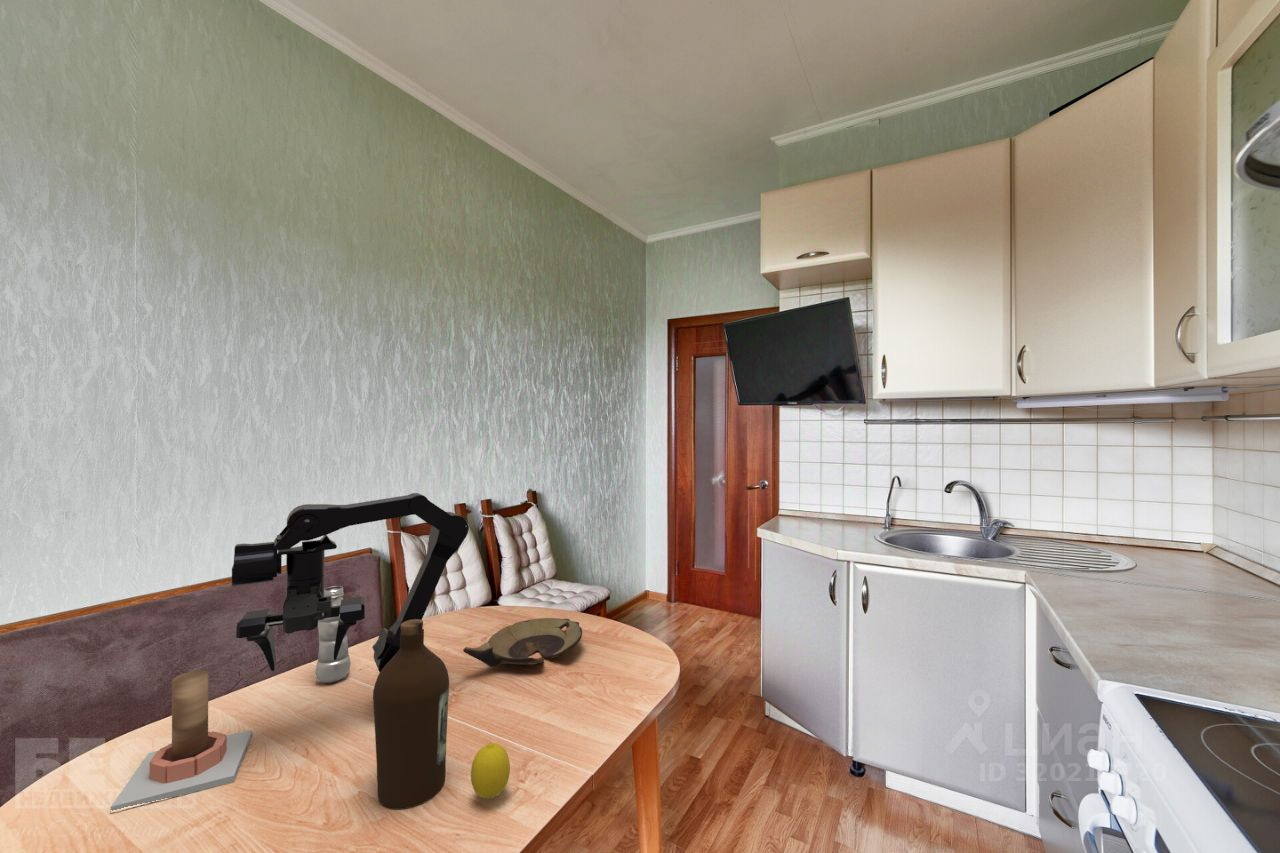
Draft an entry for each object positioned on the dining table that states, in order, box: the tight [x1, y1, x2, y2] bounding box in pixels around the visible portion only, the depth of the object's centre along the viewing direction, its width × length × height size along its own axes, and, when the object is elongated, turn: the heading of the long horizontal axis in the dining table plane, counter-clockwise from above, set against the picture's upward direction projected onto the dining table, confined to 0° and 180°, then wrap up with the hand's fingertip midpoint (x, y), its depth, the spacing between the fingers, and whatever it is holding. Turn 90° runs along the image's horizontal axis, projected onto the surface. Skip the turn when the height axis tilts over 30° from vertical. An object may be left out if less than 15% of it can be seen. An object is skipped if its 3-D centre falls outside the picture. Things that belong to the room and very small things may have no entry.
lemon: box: [470, 742, 511, 800], centre depth 75 cm, size 6×6×8 cm
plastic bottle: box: [315, 585, 352, 684], centre depth 112 cm, size 6×7×20 cm
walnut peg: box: [171, 669, 209, 762], centre depth 82 cm, size 4×4×14 cm
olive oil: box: [372, 619, 450, 810], centre depth 78 cm, size 11×11×25 cm
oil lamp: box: [462, 617, 583, 668], centre depth 123 cm, size 22×30×8 cm
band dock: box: [110, 729, 253, 811], centre depth 82 cm, size 14×14×4 cm
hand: (305, 664), depth 91 cm, fingers open, 9 cm apart
